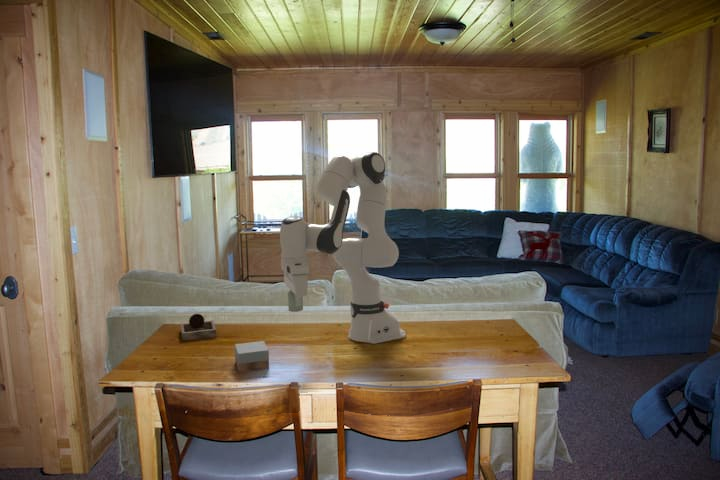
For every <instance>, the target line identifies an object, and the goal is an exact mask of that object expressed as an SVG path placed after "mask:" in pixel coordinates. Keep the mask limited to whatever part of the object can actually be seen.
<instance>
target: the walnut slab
mask: <svg viewBox="0 0 720 480" xmlns="http://www.w3.org/2000/svg"><path fill="white" fill-rule="evenodd" d="M234 357H235V365H236V367H237V371H238V373H246V372H254V371H260V370H261V371H262V370H268V369H270V361H269V360H266V361H258V362H250V363H242V364H239V363H238V360H237V357H236V354H234Z"/></svg>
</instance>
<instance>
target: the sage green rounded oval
mask: <svg viewBox="0 0 720 480" xmlns="http://www.w3.org/2000/svg"><path fill="white" fill-rule="evenodd" d="M303 300H304V299H303V297H301V305H300V306H296V305H295V295H294V294H293V292H290V291H288V293H287V303H288V305H287V306H288V311H289V312H293V313H298V312H301V311H303V310H304V302H303Z"/></svg>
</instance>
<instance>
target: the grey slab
mask: <svg viewBox="0 0 720 480" xmlns="http://www.w3.org/2000/svg"><path fill="white" fill-rule="evenodd" d="M234 353H235V354H236V357H237V360H238V363H239V364H242V363H250V362H258V361H266V360H269V359H270V356H269V355H270V351H269V348H268V347H267V345H266V343H265V341H264V340H260V341H251V342H243V343H235V344H234ZM235 354H234V355H235Z"/></svg>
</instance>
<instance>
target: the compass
mask: <svg viewBox="0 0 720 480" xmlns="http://www.w3.org/2000/svg"><path fill="white" fill-rule="evenodd" d="M204 321H205V318H204V316H203V314H200V313H193V314H192V315H191V316H190V317H189V319H188V323H189V324H190V326H191V327H192V328H194V329H195V330H193V331H201V330H210V329H205V328H201V327H202V326H203V324H204Z"/></svg>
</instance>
